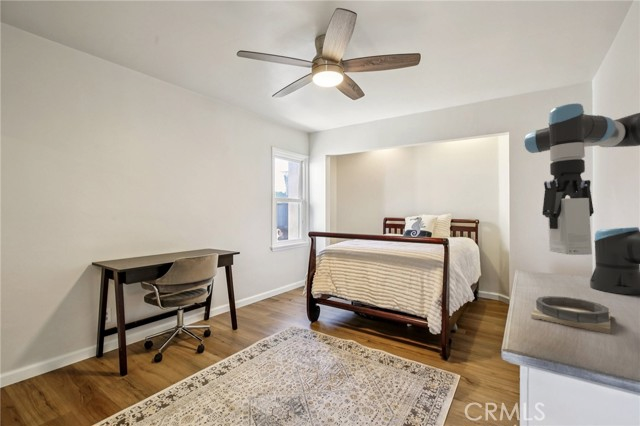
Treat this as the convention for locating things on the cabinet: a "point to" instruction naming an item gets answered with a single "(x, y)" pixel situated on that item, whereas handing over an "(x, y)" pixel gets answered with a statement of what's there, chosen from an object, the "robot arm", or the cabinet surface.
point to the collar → (573, 312)
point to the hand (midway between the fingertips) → (568, 239)
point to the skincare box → (573, 228)
